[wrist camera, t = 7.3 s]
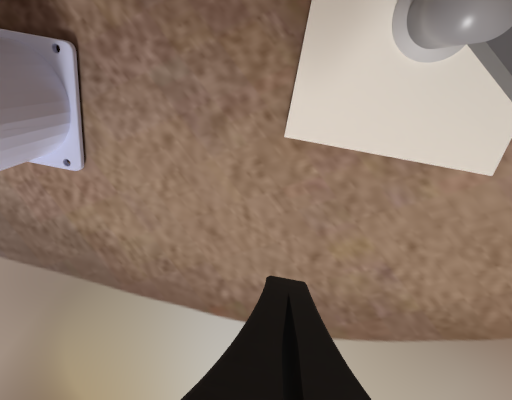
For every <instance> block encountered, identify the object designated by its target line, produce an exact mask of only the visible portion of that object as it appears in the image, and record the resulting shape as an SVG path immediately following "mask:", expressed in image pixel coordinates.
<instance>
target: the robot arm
mask: <svg viewBox="0 0 512 400" xmlns="http://www.w3.org/2000/svg"><path fill="white" fill-rule="evenodd" d="M57 45H59V47H60V52H58V51H57V49H56V46H57ZM67 159H68V160H69V161H70V163H71V164H69V163H68V162H67ZM27 161H28V162H33V163H38V164H43V165H48V166H53V167H58V168H63V169H68V170H73V171H78V170H81V169H83V167H84V154H83V140H82V126H81V112H80V98H79V84H78V70H77V56H76V49H75V47H74V45H73V44H72V43H71V42H69V41H66V40H60V39H55V38H49V37H44V36H38V35H33V34H27V33H21V32H16V31H10V30H5V29H0V171H1V170H4V169H7V168H10V167H13V166H16V165H19V164H21V163H24V162H27ZM181 400H371V398H370V397H369V396H368V394H367V393H366V391H365V390H364V389H363V387H362V386H361V384H360V383H359V382H358V380H357V379H356V377H355V376H354V374H353V373H352V371H351V370H350V369H349V367H348V366H347V364H346V362H345V360H344V359H343V357H342V356H341V354H340V352H339V351H338V349H337V347H336V345H335V344H334V342H333V340H332V338H331V336H330V335H329V333H328V331H327V329H326V327H325V325H324V323H323V321H322V319H321V317H320V315H319V313H318V311H317V309H316V306H315V304H314V302H313V300H312V297H311V295H310V292H309V290H308V287H307V285H306V283H305V282H302V281H296V280H291V279H286V278H280V277H275V276H269V277H267V278H266V283H265V287H264V289H263V292H262V294H261V296H260V299H259V301H258V303H257V304H256V306H255V308H254V310H253V312H252V314H251V315H250V317H249V319H248V320H247V322H246V323H245V325H244V326H243V328H242V329H241V331H240V332H239V334H238V335H237V337H236V338H235V340H234V341H233V342H232V343H231V345H230V346H229V347H228V349H227V350H226V351H225V353H224V354H223V355H222V356H221V357H220V359H219V360H218V361H217V362H216V363H215V365H214V366H213V367H212V368H211V369H210V370H209V371H208V372H207V374H206V375H205V376H204V377H203V378H202V379H201V380H200V381H199V382H198V383H197V384H196V385H195V386H194V387H193V388H192V389H191V390H190V391H189V392H188V393H187V394H186V395H185V396H184V397H183V398H182V399H181Z"/></svg>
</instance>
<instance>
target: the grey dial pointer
mask: <svg viewBox="0 0 512 400" xmlns="http://www.w3.org/2000/svg"><path fill="white" fill-rule="evenodd" d="M407 30H408V33H409V36H410V38H411V39H412V41H413V42H414V43H415V44H417V45H418V46H420V47H422V48H425V49H438V48H445V47H452V46H459V45H466V44H467V45H468V46H469V48H470V49H471V50H472V52H473V53H474V54H475V55H476V57H477V58H478V59H479V61H480V62H481V63H482V64H483V66H484V67H485V68H486V70H487V71H488V72H489V73H490V75H491V76H492V77H493V78H494V80H495V81H496V82H497V84H498V85H499V86H500V87H501V89H502V90H503V91H504V93H505V94H506V95H507V96H508V98H509V99H510V100H511V102H512V0H414V1H413V2H412V4H411V6H410V9H409V12H408V16H407Z"/></svg>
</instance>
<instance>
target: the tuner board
mask: <svg viewBox="0 0 512 400" xmlns="http://www.w3.org/2000/svg"><path fill="white" fill-rule="evenodd" d="M413 1H414V0H312V1H311V6H310V11H309V16H308V21H307V26H306V31H305V36H304V41H303V46H302V51H301V56H300V60H299V65H298V70H297V75H296V80H295V85H294V90H293V95H292V100H291V105H290V110H289V115H288V120H287V125H286V130H285V135H284V137H288V138H293V139H298V140H304V141H309V142H314V143H320V144H325V145H330V146H335V147H341V148H346V149H351V150H357V151H362V152H367V153H373V154H378V155H383V156H388V157H394V158H399V159H404V160H410V161H415V162H420V163H426V164H431V165H436V166H442V167H447V168H452V169H457V170H463V171H468V172H473V173H479V174H484V175H489V176H492V175H493V173H494V171H495V170H496V168H497V166H498V164H499V162H500V160H501V158H502V156H503V154H504V152H505V150H506V148H507V146H508V144H509V142H510V140H511V138H512V102H511V100H510V99H509V98H508V96H507V95H506V94H505V93H504V91H503V90H502V89H501V87H500V86H499V85H498V84H497V82H496V81H495V80H494V78H493V77H492V76H491V75H490V73H489V72H488V71H487V70H486V68H485V67H484V66H483V64H482V63H481V62H480V61H479V59H478V58H477V57H476V55H475V54H474V53H473V52H472V50H471V49H470V48H469V46H468V45H467V44H466V45H459V46H452V47H445V48H438V49H425V48H422V47H420V46H418V45H417V44H415V43H414V42H413V41H412V39H411V38H410V36H409V33H408V30H407V16H408V12H409V9H410V6H411V4H412V2H413Z"/></svg>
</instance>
